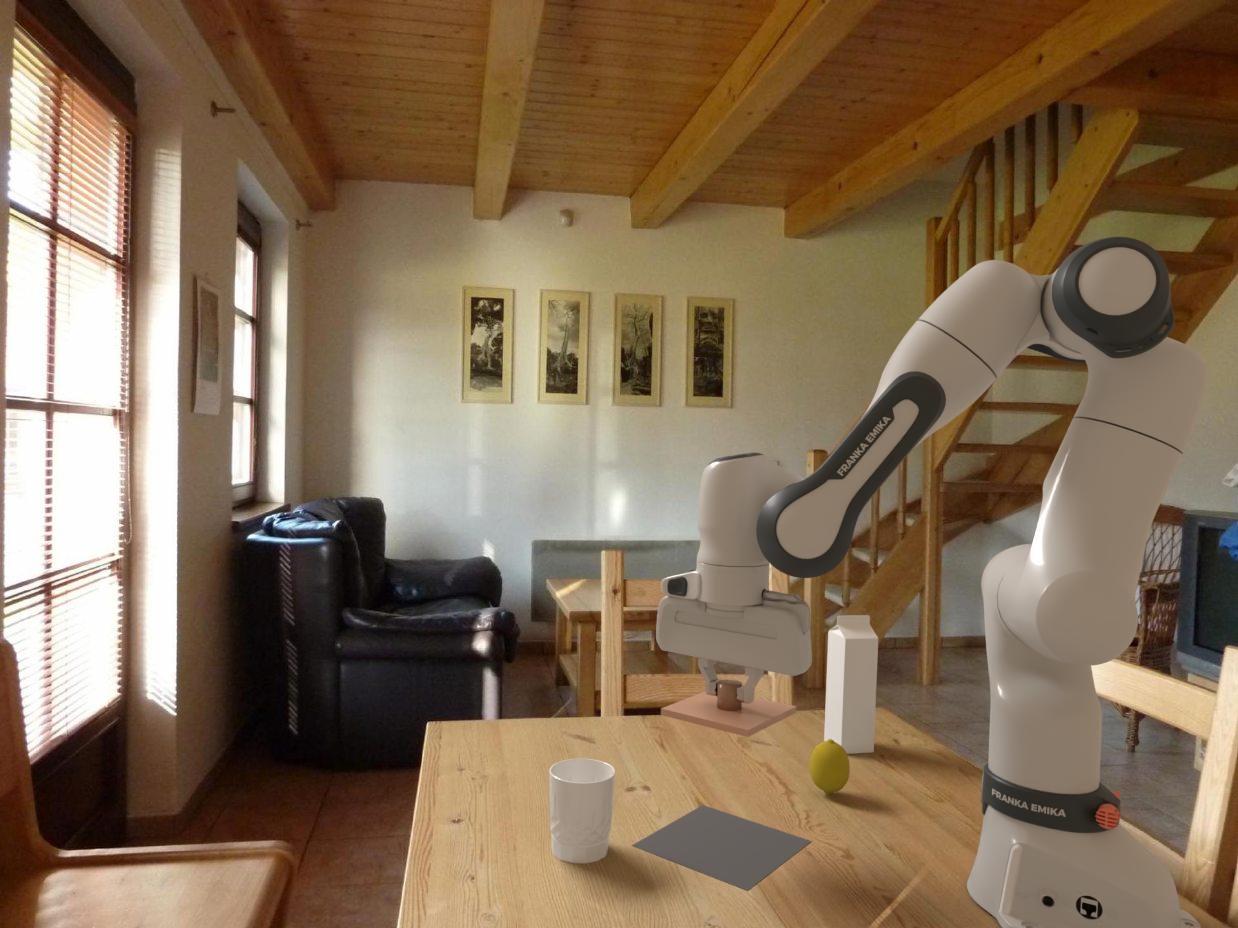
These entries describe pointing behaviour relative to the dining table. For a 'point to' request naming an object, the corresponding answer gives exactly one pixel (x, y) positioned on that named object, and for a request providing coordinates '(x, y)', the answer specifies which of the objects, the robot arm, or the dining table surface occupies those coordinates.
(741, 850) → the mat
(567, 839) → the white cup
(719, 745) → the dining table surface
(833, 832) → the dining table surface
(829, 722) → the milk
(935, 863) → the dining table surface
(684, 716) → the lid
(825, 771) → the lemon
